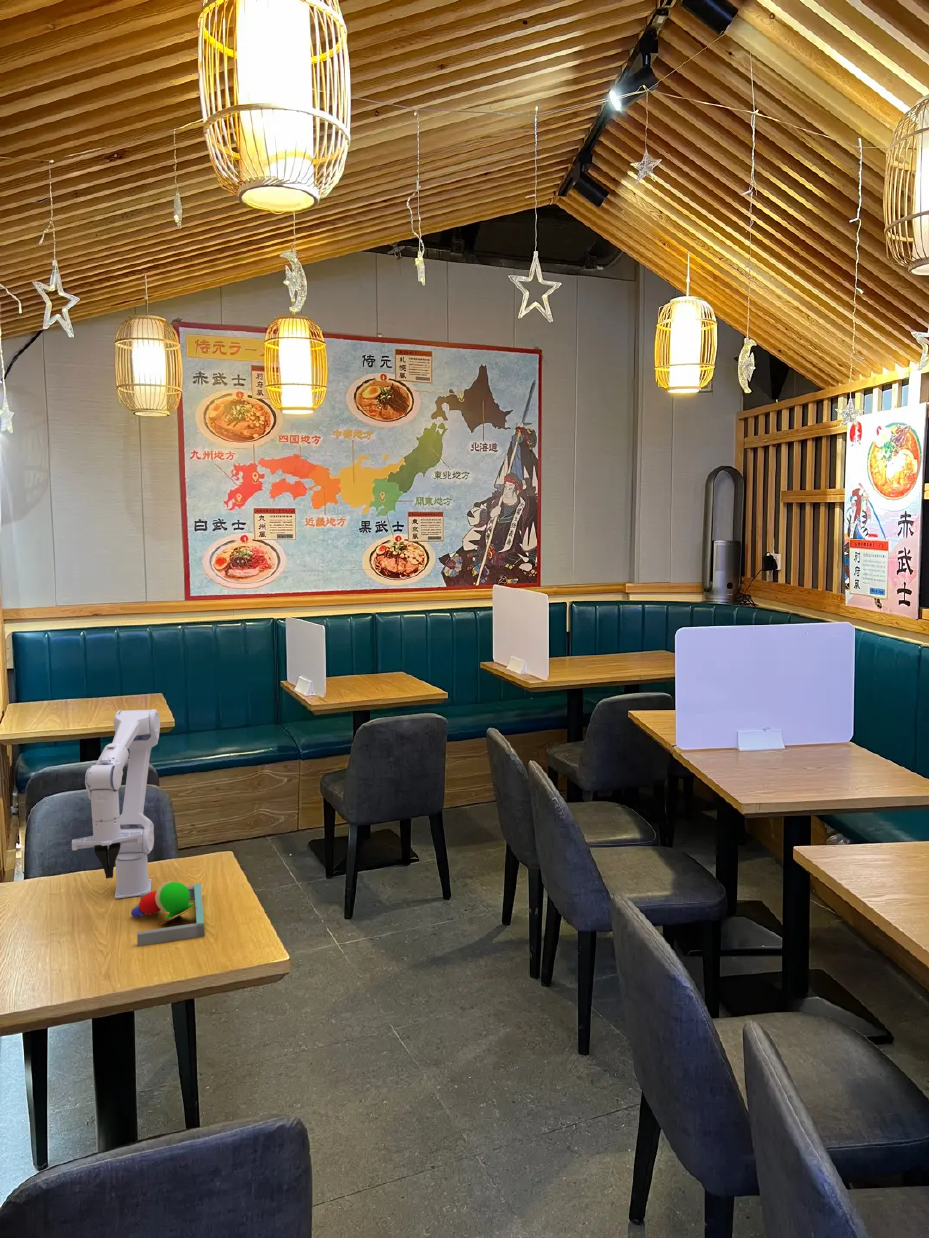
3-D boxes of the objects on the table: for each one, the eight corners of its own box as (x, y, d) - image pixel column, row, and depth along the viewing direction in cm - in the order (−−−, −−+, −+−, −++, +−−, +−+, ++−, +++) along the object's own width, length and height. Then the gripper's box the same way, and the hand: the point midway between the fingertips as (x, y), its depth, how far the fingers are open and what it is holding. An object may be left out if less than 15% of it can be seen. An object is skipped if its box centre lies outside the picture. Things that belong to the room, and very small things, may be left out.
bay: (141, 903, 211) (140, 890, 210) (201, 895, 215) (200, 882, 215) (137, 946, 189) (136, 932, 189) (204, 936, 193) (204, 922, 193)
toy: (136, 938, 200) (176, 916, 193) (121, 905, 202) (161, 882, 195) (165, 923, 208) (205, 901, 201) (151, 891, 209) (190, 869, 202)
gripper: (68, 827, 195) (72, 887, 197) (140, 819, 200) (143, 878, 201) (72, 817, 202) (76, 875, 203) (140, 809, 206) (144, 867, 208)
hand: (109, 876), depth 203 cm, fingers closed
